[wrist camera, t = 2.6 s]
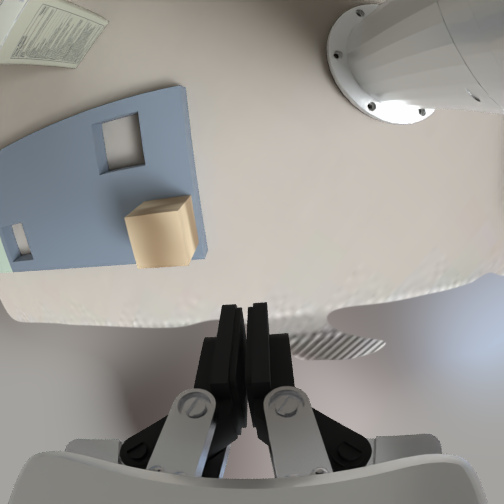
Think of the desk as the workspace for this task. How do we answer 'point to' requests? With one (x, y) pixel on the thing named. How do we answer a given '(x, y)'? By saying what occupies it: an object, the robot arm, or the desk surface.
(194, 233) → the block
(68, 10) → the skincare box
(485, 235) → the desk surface
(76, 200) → the board
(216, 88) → the desk surface
